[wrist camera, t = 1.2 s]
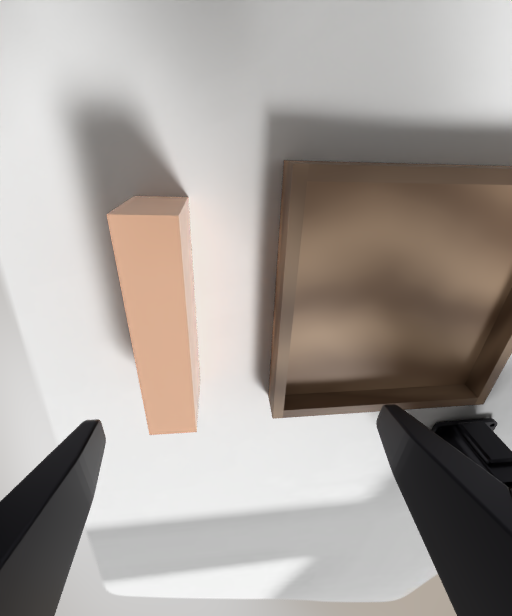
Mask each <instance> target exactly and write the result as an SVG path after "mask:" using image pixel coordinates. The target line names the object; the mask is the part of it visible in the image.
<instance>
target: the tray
mask: <svg viewBox="0 0 512 616" xmlns="http://www.w3.org/2000/svg"><path fill="white" fill-rule="evenodd" d="M511 353H512V166H487V165H448V164H408V163H369V162H329V161H289V160H284V167H283V182H282V197H281V212H280V227H279V242H278V257H277V272H276V288H275V303H274V318H273V333H272V348H271V363H270V378H269V393H268V397H269V402H270V407H271V412H272V417H273V418H287V417H302V416H317V415H332V414H346V413H361V412H376V411H380V410H381V408H382V406H383V405H385V404H396V405H398V406H399V407H400V408H402V409H403V410H406V409H421V408H436V407H450V406H465V405H480V404H484V402H485V400H486V399H487V397H488V395H489V393H490V391H491V389H492V388H493V386H494V384H495V382H496V380H497V379H498V377H499V375H500V373H501V371H502V369H503V368H504V366H505V364H506V362H507V360H508V359H509V357H510V355H511Z"/></svg>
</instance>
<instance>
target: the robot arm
mask: <svg viewBox="0 0 512 616" xmlns="http://www.w3.org/2000/svg"><path fill="white" fill-rule="evenodd" d="M496 426H497V422H496V421H495V420H494V419H479V420H465V421H452V422H439V423H437V424H435V425H434V427H433V429H432V430H430V429H429V428H428V427H426V426H425V425H423V424H422V423H421V422H419V421H418V420H417V419H415V418H414V417H413V416H411V415H410V414H409V413H407V412H406V411H404V410H403V409H402V408H400V407H399V406H398V405H396V404H385V405H383V406H382V408H381V410H380V413H379V416H378V419H377V429H378V432H379V435H380V438H381V441H382V444H383V447H384V450H385V453H386V456H387V458H388V461H389V464H390V467H391V470H392V473H393V475H394V477H395V480H396V482H397V484H398V486H399V489H400V491H401V493H402V495H403V497H404V500H405V502H406V504H407V506H408V508H409V511H410V513H411V515H412V517H413V519H414V522H415V524H416V526H417V528H418V530H419V533H420V535H421V537H422V539H423V541H424V544H425V546H426V548H427V550H428V552H429V555H430V557H431V559H432V561H433V564H434V566H435V568H436V570H437V572H438V575H439V577H440V579H441V581H442V583H443V586H444V588H445V590H446V592H447V594H448V597H449V599H450V601H451V603H452V605H453V607H454V610H455V612H456V614H457V616H512V451H511V450H510V449H509V448H508V447H507V446H506V445H505V444H504V443H503V442H502V441H501V439H500V438H499V437H498V436H497V435H496V434H495V433H494V432H493V430H494V429H495V427H496ZM105 443H106V438H105V434H104V430H103V427H102V423H101V421H100V420H86V421H84V422H82V423H81V424H80V425H79V426H78V427H77V428H76V429H75V430H74V431H73V432H72V433H71V434H70V435H69V436H68V437H67V438H66V439H65V440H64V441H63V442H62V443H61V444H60V445H58V446H57V447H56V448H55V449H54V450H53V451H52V452H51V453H50V454H49V455H48V456H47V457H46V458H45V459H44V460H43V461H42V462H41V463H40V464H39V465H38V466H37V467H36V468H35V469H34V470H33V471H32V472H30V473H29V475H27V476H26V478H24V479H23V480H22V481H21V482H20V483H19V484H18V485H17V486H16V487H15V488H14V489H13V490H12V491H11V492H10V493H9V494H8V495H7V496H6V497H5V498H4V499H3V500H1V501H0V616H54V615H55V612H56V609H57V606H58V603H59V600H60V597H61V594H62V591H63V588H64V585H65V582H66V579H67V576H68V573H69V570H70V567H71V564H72V561H73V558H74V555H75V552H76V549H77V546H78V543H79V540H80V537H81V534H82V531H83V528H84V525H85V522H86V519H87V516H88V513H89V510H90V507H91V504H92V501H93V497H94V493H95V489H96V485H97V480H98V476H99V471H100V466H101V462H102V457H103V453H104V448H105Z"/></svg>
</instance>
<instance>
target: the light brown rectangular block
mask: <svg viewBox="0 0 512 616" xmlns="http://www.w3.org/2000/svg"><path fill="white" fill-rule="evenodd" d="M107 220H108V225H109V230H110V235H111V240H112V245H113V250H114V255H115V260H116V266H117V271H118V276H119V281H120V286H121V291H122V296H123V301H124V307H125V312H126V317H127V322H128V327H129V332H130V337H131V342H132V347H133V353H134V358H135V363H136V368H137V373H138V378H139V383H140V388H141V393H142V399H143V404H144V409H145V414H146V419H147V424H148V429H149V434H150V435H155V434H171V433H188V432H197V418H198V405H199V392H200V368H199V353H198V337H197V322H196V307H195V291H194V276H193V261H192V245H191V230H190V215H189V199H188V197H167V196H133V197H131V198H130V199H128V200H127V201H125V202H124V203H123V204H121V205H120V206H118V207H117V208H115V209H114V210H112V211H111V212H109V213H108V214H107Z"/></svg>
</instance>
